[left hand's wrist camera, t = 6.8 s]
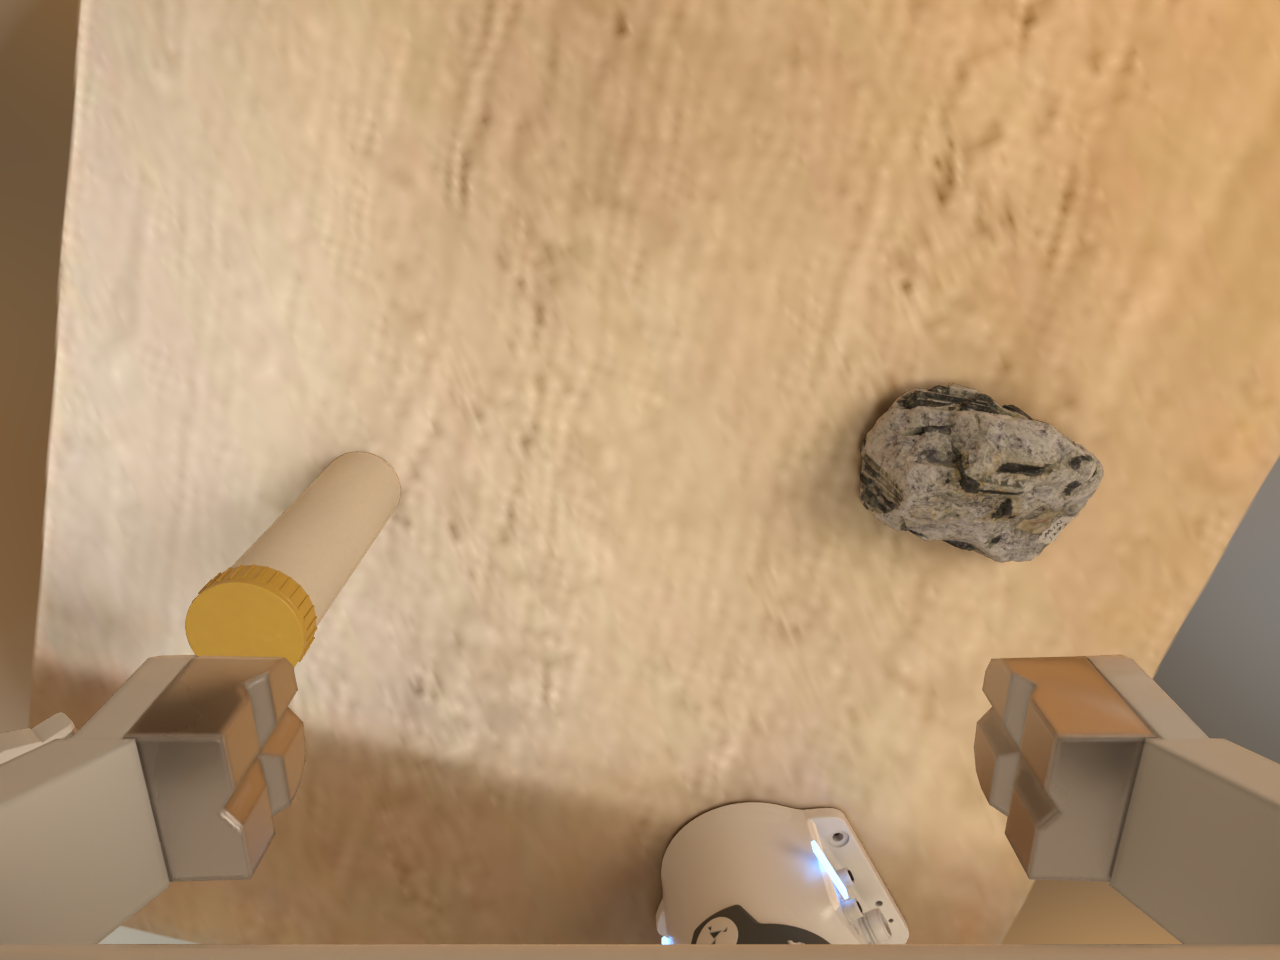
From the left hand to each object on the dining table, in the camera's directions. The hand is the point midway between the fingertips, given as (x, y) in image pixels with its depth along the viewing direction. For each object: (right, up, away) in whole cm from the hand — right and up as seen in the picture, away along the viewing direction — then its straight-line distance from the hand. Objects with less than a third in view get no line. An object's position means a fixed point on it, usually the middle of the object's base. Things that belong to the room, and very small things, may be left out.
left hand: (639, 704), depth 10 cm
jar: (-19, +2, +51) cm, 54 cm away
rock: (+22, +4, +50) cm, 55 cm away
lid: (-19, -5, +33) cm, 38 cm away
